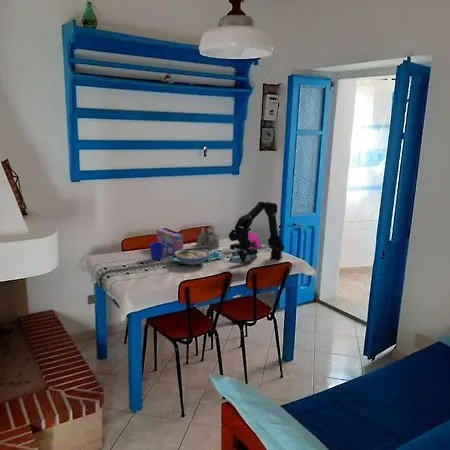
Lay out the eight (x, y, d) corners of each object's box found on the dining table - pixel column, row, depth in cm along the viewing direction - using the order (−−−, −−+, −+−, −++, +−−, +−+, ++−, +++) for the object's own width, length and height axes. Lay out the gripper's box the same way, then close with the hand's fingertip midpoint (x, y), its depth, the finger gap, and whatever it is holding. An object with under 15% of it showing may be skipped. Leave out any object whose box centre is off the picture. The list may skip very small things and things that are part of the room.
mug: (166, 261, 293) (166, 246, 290) (148, 260, 295) (148, 245, 293) (170, 257, 301) (170, 243, 298) (153, 256, 303) (152, 242, 301)
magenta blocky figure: (242, 244, 333) (242, 231, 331) (255, 243, 337) (255, 230, 334) (249, 249, 322) (249, 235, 320) (262, 248, 326) (262, 234, 324)
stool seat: (257, 258, 302) (257, 250, 301) (249, 264, 290) (250, 255, 289) (237, 255, 308) (237, 247, 306) (229, 261, 295) (230, 253, 294)
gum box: (155, 247, 324) (155, 229, 321) (164, 245, 329) (164, 227, 326) (174, 255, 307) (173, 236, 304) (183, 253, 312) (183, 234, 309)
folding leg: (249, 258, 293) (249, 253, 292) (251, 260, 291) (252, 254, 290) (231, 262, 286) (231, 256, 285) (234, 263, 284) (234, 257, 283)
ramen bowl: (176, 270, 276) (176, 258, 274) (170, 259, 297) (170, 247, 295) (215, 267, 282) (215, 255, 280) (207, 256, 304) (207, 245, 302)
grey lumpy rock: (195, 243, 336) (196, 223, 331) (217, 242, 339) (218, 223, 335) (198, 250, 321) (199, 230, 317) (220, 250, 324) (222, 230, 320)
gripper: (263, 238, 275) (263, 263, 279) (241, 233, 288) (241, 256, 292) (251, 242, 268) (250, 267, 271) (229, 236, 281) (229, 259, 284)
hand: (243, 262), depth 280 cm, fingers closed
